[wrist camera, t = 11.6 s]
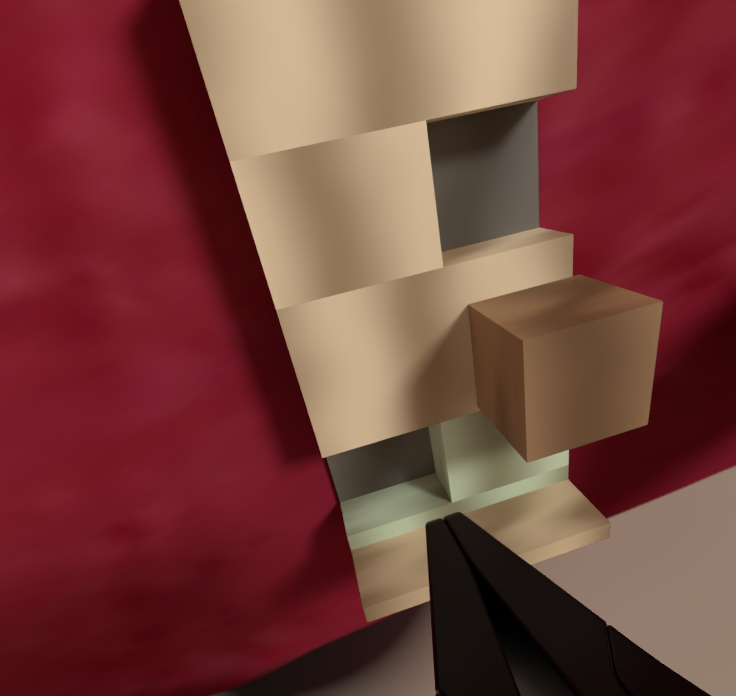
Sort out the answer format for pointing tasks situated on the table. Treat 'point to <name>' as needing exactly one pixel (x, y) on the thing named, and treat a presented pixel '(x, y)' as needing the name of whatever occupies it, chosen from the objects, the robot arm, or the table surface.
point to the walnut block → (564, 363)
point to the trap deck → (400, 248)
